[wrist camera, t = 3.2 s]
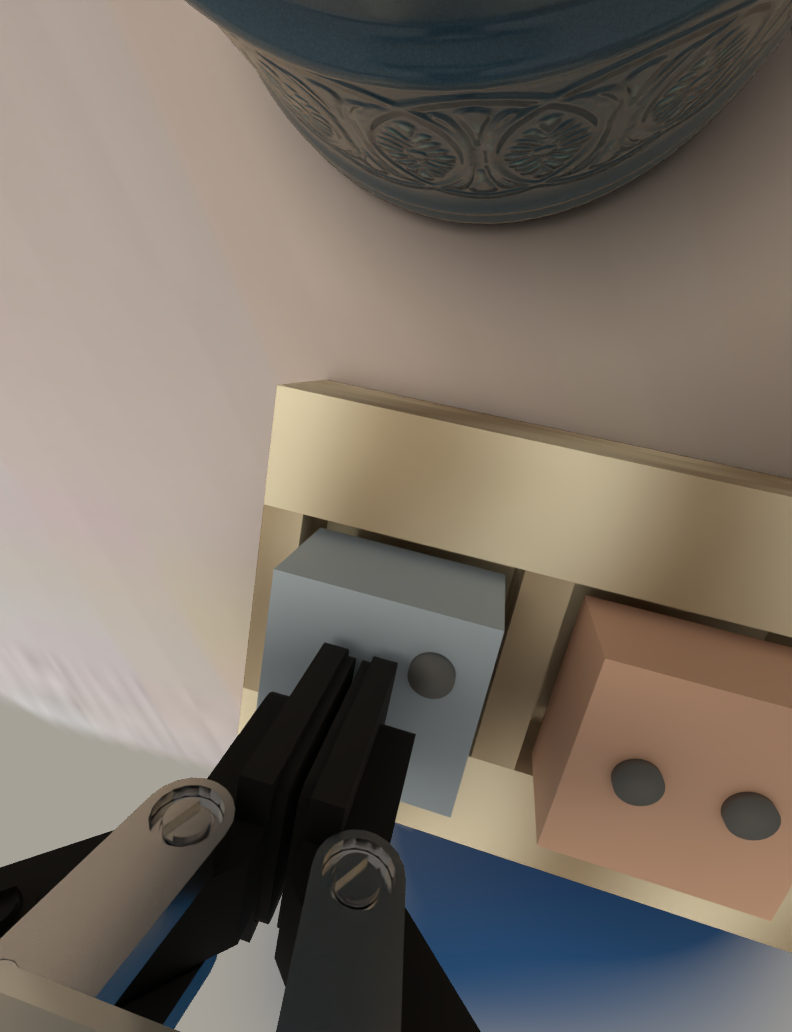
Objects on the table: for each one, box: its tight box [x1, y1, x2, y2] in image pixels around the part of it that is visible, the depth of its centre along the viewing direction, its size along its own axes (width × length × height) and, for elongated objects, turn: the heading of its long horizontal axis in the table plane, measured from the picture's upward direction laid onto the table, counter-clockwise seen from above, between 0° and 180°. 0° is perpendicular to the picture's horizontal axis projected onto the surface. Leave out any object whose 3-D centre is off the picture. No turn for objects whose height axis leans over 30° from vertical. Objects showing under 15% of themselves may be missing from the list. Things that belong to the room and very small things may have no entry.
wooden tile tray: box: [238, 380, 792, 953], centre depth 15 cm, size 22×12×4 cm, turn 79°
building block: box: [256, 528, 505, 818], centre depth 13 cm, size 5×5×3 cm
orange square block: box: [532, 595, 792, 921], centre depth 12 cm, size 5×5×3 cm
